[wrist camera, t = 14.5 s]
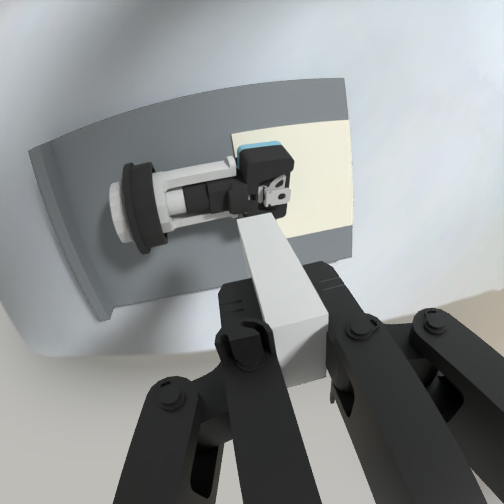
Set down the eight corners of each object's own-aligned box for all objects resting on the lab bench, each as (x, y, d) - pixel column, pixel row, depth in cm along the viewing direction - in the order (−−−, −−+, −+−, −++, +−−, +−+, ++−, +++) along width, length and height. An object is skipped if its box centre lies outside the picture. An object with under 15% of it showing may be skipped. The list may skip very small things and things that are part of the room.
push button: (293, 255, 19) (138, 290, 17) (267, 203, 22) (136, 230, 20) (307, 165, 14) (99, 206, 12) (270, 123, 17) (110, 152, 15)
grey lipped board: (47, 143, 16) (28, 150, 13) (336, 78, 17) (355, 77, 15) (107, 300, 23) (99, 321, 21) (345, 250, 24) (360, 267, 22)
